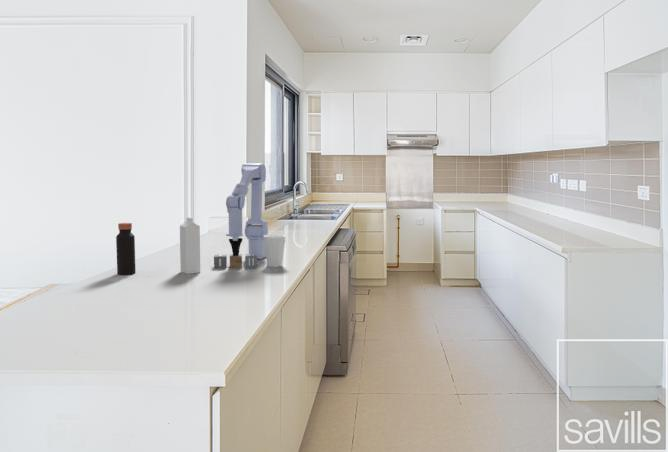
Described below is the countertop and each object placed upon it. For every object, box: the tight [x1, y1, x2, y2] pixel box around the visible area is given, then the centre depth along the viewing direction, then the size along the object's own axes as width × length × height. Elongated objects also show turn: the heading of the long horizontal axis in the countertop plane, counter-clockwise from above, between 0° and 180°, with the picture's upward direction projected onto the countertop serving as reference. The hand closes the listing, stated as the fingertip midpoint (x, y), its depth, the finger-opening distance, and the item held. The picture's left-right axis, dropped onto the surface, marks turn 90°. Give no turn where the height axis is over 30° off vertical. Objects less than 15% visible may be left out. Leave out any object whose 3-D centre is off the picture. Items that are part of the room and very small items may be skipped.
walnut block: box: [229, 253, 243, 269], centre depth 241 cm, size 5×5×5 cm
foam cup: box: [264, 234, 286, 268], centre depth 243 cm, size 10×9×13 cm
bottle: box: [115, 222, 136, 276], centre depth 222 cm, size 7×7×20 cm
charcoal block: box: [213, 254, 228, 269], centre depth 240 cm, size 5×5×5 cm
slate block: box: [244, 253, 258, 269], centre depth 242 cm, size 5×5×5 cm
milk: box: [179, 217, 201, 275], centre depth 226 cm, size 6×6×22 cm
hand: (235, 255), depth 241 cm, fingers closed, pressing on walnut block
